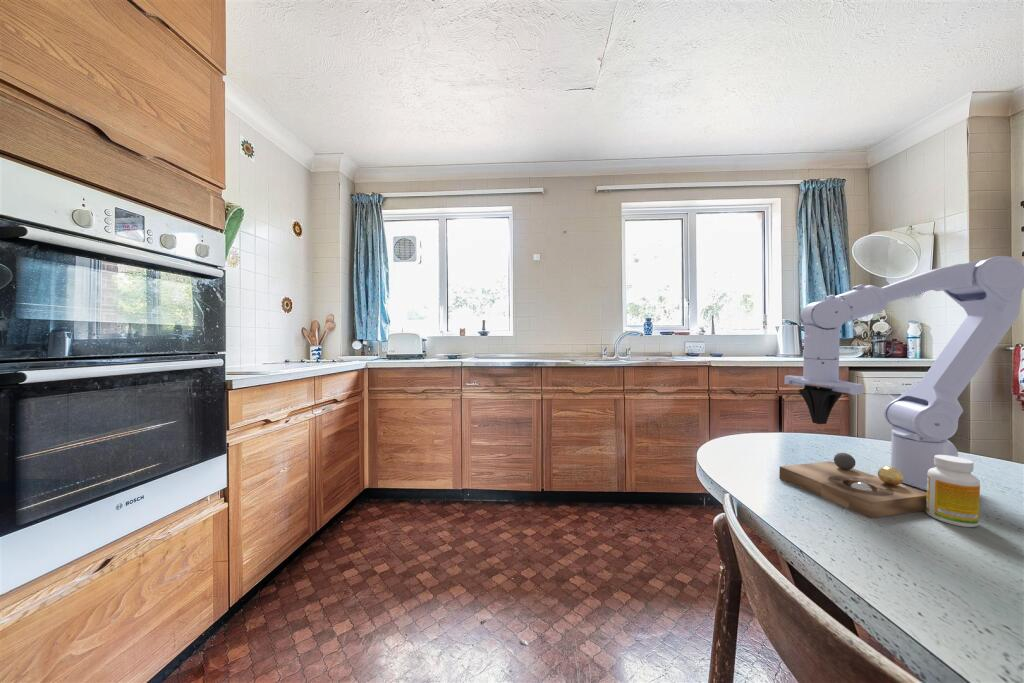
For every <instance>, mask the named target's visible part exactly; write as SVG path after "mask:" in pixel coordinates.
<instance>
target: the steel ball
mask: <svg viewBox="0 0 1024 683" xmlns="http://www.w3.org/2000/svg"><path fill="white" fill-rule="evenodd" d="M850 487H852V488H856V489H860V490H867V491H873V489H872V488H871V487H870V486H869V485H867V484H865V483H862V482H855V483H853V484H851V485H850Z"/></svg>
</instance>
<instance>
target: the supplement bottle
mask: <svg viewBox="0 0 1024 683" xmlns="http://www.w3.org/2000/svg"><path fill="white" fill-rule="evenodd" d="M934 464H935V465H936V467H935V468H931V469H929V470H928V473H927V490H926V493H927V497H926V510H925V511H926V512H925V513H926V514H927V515H928V516H930V517H931V518H933V519H935V520H938V521H941V522H943V523H947V524H950V525H953V526H957V527H963V528H976V527H978V526H979V522H980V500H981V499H980V498H981V496H980V492H981V481H980V479H979V478H978V477H977V476H976V475H974V474H973V472H974V469H975V468H974V461H973V460H970V459H967V458H963V457H959V456H958V457H955V456H949V455H935V456H934Z"/></svg>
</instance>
